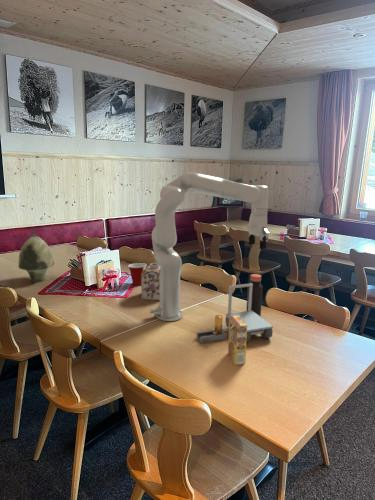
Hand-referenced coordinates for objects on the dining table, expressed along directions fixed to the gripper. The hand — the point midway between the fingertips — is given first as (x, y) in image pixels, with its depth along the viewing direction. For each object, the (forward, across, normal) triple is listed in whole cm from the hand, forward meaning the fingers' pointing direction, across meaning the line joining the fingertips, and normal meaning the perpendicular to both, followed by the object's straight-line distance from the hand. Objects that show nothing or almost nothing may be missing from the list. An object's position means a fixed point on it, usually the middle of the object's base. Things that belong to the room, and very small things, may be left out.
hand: (256, 246), depth 180 cm
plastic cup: (+31, -52, -47) cm, 76 cm away
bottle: (+31, +11, -7) cm, 34 cm away
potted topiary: (+31, -78, -101) cm, 131 cm away
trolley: (+31, +26, -19) cm, 44 cm away
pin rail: (+31, +25, -36) cm, 53 cm away
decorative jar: (+31, -29, -43) cm, 61 cm away
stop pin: (+30, +25, -30) cm, 49 cm away
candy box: (+31, +42, -34) cm, 62 cm away
